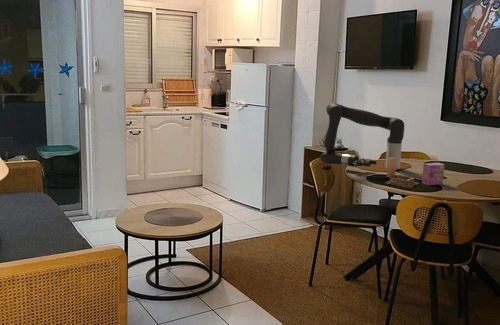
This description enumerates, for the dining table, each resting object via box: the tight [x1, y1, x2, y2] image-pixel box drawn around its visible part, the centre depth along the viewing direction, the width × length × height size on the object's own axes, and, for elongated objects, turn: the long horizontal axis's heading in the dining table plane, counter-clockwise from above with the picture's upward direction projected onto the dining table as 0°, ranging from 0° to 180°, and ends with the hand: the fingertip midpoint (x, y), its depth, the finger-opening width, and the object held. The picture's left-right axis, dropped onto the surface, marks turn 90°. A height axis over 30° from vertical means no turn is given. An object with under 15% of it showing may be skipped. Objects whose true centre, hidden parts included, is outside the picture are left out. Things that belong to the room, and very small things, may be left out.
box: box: [421, 162, 446, 186], centre depth 288 cm, size 10×6×12 cm, turn 105°
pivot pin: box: [386, 157, 397, 179], centre depth 303 cm, size 5×5×12 cm
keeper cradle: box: [385, 174, 420, 189], centre depth 287 cm, size 14×15×4 cm
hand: (373, 163), depth 310 cm, fingers open, 8 cm apart
